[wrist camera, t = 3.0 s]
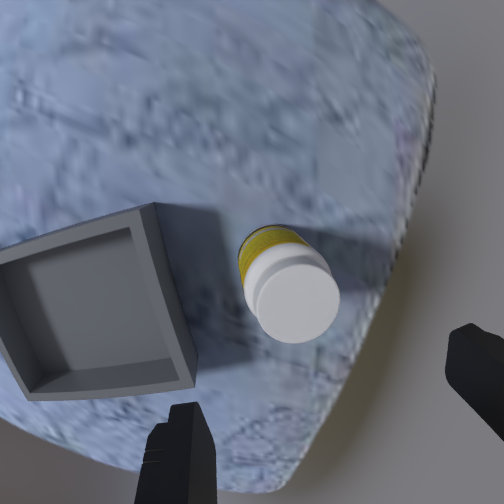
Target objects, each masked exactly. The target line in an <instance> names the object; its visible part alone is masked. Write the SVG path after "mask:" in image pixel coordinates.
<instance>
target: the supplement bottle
mask: <svg viewBox="0 0 504 504" xmlns="http://www.w3.org/2000/svg"><path fill="white" fill-rule="evenodd" d="M238 266H239V271H240V276H241V282H242V287H243V293H244V296H245V300H246V302H247V305H248V307H249V309H250V310H251V312H252V313H253V314H254V315H255V316H256V317H257V318H258V321H259V323H260V325H261V326H262V328H263V329H264V330H265V332H266V333H267V334H269V335H270V336H271V337H273V338H274V339H276V340H279V341H281V342H285V343H303V342H307V341H310V340H312V339H315V338H316V337H318V336H320V335H321V334H322V333H324V332H325V331H326V330H327V329H328V328H329V327H330V326H331V324H332V323H333V322H334V320H335V318H336V316H337V314H338V311H339V307H340V292H339V288H338V285H337V283H336V281H335V280H334V278H333V277H332V274H331V271H330V268H329V266H328V264H327V262H326V261H325V259H324V258H323V257H322V256H321V255H320V254H319V253H318V252H317V251H316V250H315V249H314V248H312V247H311V246H310V245H309V244H308V243H307V242H306V241H305V240H303V239H302V238H301V237H300V236H299V235H298V234H297V233H296V232H294V231H293V230H291V229H290V228H288V227H285V226H282V225H278V224H268V225H263V226H261V227H258V228H256V229H255V230H253V231H252V232H250V233H249V234H248V235H247V236H246V238H245V239H244V240H243V242H242V244H241V246H240V249H239V253H238Z"/></svg>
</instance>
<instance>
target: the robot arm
mask: <svg viewBox="0 0 504 504" xmlns="http://www.w3.org/2000/svg"><path fill="white" fill-rule="evenodd" d="M445 375H446V379H447V381H448V383H449V385H450V386H451V387H452V388H453V389H454V390H455V391H456V392H457V393H458V394H459V395H460V396H461V397H462V398H463V399H464V400H465V401H466V402H467V403H468V404H469V405H470V406H471V407H472V408H473V409H474V410H475V411H476V412H477V414H478V415H479V416H480V417H481V418H482V419H483V420H484V421H485V422H486V423H487V424H488V425H489V426H490V427H491V428H492V429H493V430H494V432H495V433H496V434H497V435H498V436H499V437H500V438H501V439H502V440H503V441H504V339H503V338H501V337H500V336H498V335H495V334H492V333H489V332H485V331H484V330H482V329H481V328H479V327H477V326H476V325H474V324H473V323H469V324H467V325H464V326H462V327H460V328H457V329H455V330H453V331H452V332H451V333H450V335H449V342H448V351H447V359H446V366H445ZM145 451H146V453H144V457H143V464H142V467H141V471H140V476H139V481H138V486H137V492H136V497H135V502H134V504H217V478H216V450H215V444H214V441H213V437H212V435H211V432H210V430H209V427H208V425H207V423H206V420H205V418H204V415H203V413H202V410H201V408H200V405H199V404H198V402H190V403H183V404H175V405H172V406H171V408H170V413H169V418H168V423H158V424H157V425H156V426H155V428H154V429H153V430H152V432H151V433H150V434H149V436H148V439H147V443H146V448H145Z"/></svg>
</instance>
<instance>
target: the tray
mask: <svg viewBox="0 0 504 504" xmlns="http://www.w3.org/2000/svg"><path fill="white" fill-rule="evenodd" d="M0 351H1V353H2V355H3V357H4V359H5V361H6V363H7V365H8V367H9V369H10V370H11V372H12V374H13V376H14V378H15V380H16V381H17V383H18V385H19V387H20V389H21V390H22V392H23V394H24V395H25V397H26V399H27V400H28V401H63V400H85V399H101V398H114V397H125V396H135V395H144V394H152V393H160V392H168V391H175V390H182V389H189V388H195V383H196V372H197V362H198V355H197V352H196V349H195V346H194V343H193V340H192V337H191V334H190V330H189V327H188V324H187V321H186V318H185V315H184V311H183V308H182V305H181V302H180V298H179V295H178V292H177V288H176V285H175V281H174V278H173V274H172V271H171V267H170V264H169V260H168V256H167V253H166V249H165V245H164V241H163V238H162V234H161V230H160V226H159V222H158V218H157V214H156V210H155V206H154V202H152V203H149V204H145V205H141V206H137V207H134V208H130V209H126V210H123V211H119V212H115V213H112V214H108V215H105V216H101V217H98V218H94V219H91V220H88V221H84V222H81V223H78V224H74V225H71V226H68V227H65V228H62V229H58V230H55V231H52V232H49V233H46V234H43V235H40V236H37V237H34V238H31V239H28V240H25V241H22V242H19V243H16V244H13V245H11V246H8V247H5V248H2V249H0Z"/></svg>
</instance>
